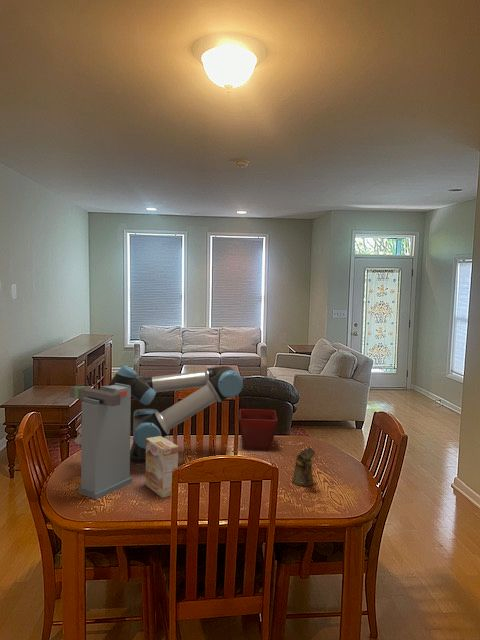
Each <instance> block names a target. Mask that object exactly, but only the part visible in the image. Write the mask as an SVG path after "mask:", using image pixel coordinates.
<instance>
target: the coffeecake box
mask: <svg viewBox="0 0 480 640" xmlns="http://www.w3.org/2000/svg"><path fill="white" fill-rule="evenodd" d="M177 467H178V468H179V446H178V445H177V444H175V443H174V442H172V441H170V440H168V439H167V438H165V437H164V438H163V437H162V436H157V437H150V438H146V463H145V479H144V480H145V481H144V483H145V484H144V485H145V486H146V487H148V488H149V489H150V490H152V491H153V492H154V493H155V494H157V495H158V496H159V497H160V498H162V499H163V497H164V498H167V497H171V496H172V495H171V483H172V471H173V469H175V468H177Z"/></svg>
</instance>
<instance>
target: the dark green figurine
mask: <svg viewBox="0 0 480 640" xmlns="http://www.w3.org/2000/svg"><path fill="white" fill-rule="evenodd" d="M315 454H316V453H315V450H314V449H312V448H309V447H308V448H305V449H303V450H301V451H300V453H299V454H297V455H296V458H295V466H294V471H293V476H292V479H291V482H292V483H293V484H294V485H295V486H298V487H310V486H312V485H313V484H314V478H313V469H312V466H313V461H312V458H313V457H314V456H315Z"/></svg>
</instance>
